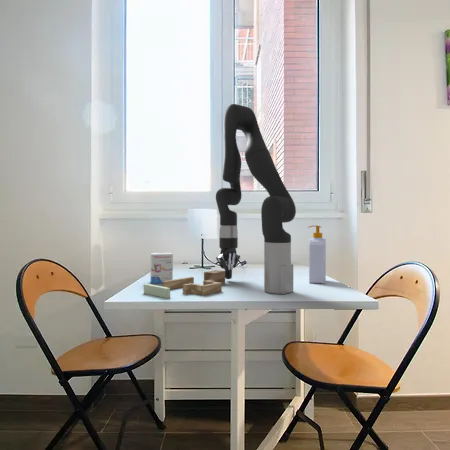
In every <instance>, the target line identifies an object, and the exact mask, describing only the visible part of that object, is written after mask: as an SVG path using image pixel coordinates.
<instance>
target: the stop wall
mask: <svg viewBox="0 0 450 450" xmlns="http://www.w3.org/2000/svg"><path fill="white" fill-rule="evenodd" d="M143 294H146V295H151V296H154V297H155V296H156V297H161V298H163V299H164V298H165V299H169V298H171V289H170V288H167V287H163V285H162V286H161V285H157V284H156V285H155V284H152V283H144V284H143Z"/></svg>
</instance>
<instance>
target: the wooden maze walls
mask: <svg viewBox="0 0 450 450" xmlns="http://www.w3.org/2000/svg"><path fill="white" fill-rule="evenodd" d="M202 282H203V283H202V284H198V283H195V278H194V277H193V276H187V277H182V278H176V279H173V280H168V281H163V283H162V287H167V288H170V290H174V289H181V288H182V295H188V294H195V295H201V296H207V295H212V294H216V292H217V293H219V292H220V293H221V292H222V285H223V284H222V283H220V282H214V280H206V281H204V280H203V281H202Z"/></svg>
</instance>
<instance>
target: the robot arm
mask: <svg viewBox="0 0 450 450" xmlns="http://www.w3.org/2000/svg"><path fill="white" fill-rule="evenodd" d="M225 109H226V110H225V113H224V117H223V118H224V119H223V121H224V122H223V123H224V124H223V128H224V134H223V135H224V160H223V161H224V162H223V168H222V170H223V171H222V180H223V181H224V182H226V183H229V186H230V187H220V188H218V189H217V191H216V193H215V201H216V205H217V210H218V214H219V241H218V242H219V249H220V252H219V253H220V255H219V256H216V259H215V260H216V261H217V263H218V264H219V266H220V269H223V270H224V271H225V280H231V279H232V277H233V270H234V268H236V267H237V265H238V262H239V260H240V259H241V255H240V254H237V249H238V247H239V244H238V243H239V241H238V240H239V238H238V237H239V231H238V214H237V212H236V211H234V210H231V209H230V207H229V206H237V205H238V204H239V203H240V202H241V200H242V197H243V196H242V188H241V187H242V186H241V179H240V178H241V177H240V176H241V172H242V157H241V154H240V153H241V152H240V150H239V147H238V143H237V130H238V131H241V132H242V133H243V135H244V137H245V140H246V142H247V143H246V148H245V152H244V159H245V162H246V166H247V167H248V170H249V172H250V173H251V175H252V176H253V178H254V179H255V180H256V181H257V182H258V184H260V185H261V187H263V188H264V189H265V190H266V192H267V193H268V194H269V195H268V196H267V197H265V199H264V200H263V202H262V205H261V209H260V211H261V212H260V213H261V215H260V216H261V231H262V233H261V234H262V235H263V238H264V240H263V241H264V242H263V243H264V245H263V246H264V248H263V256H264V258H263V259H264V261H263V263H264V265H263V266H264V269H263V270H264V271H263V275H264V277H263V278H264V279H263V283H264V284H263V285H264V286H263V290H264V292H265V293H268V294H277V295H278V294H279V295H280V294H282V295H286V294H289V293H293V292H294V264H293V263H292V236H291V234H290V233H289V232H287V231H286V230H285V229H284V226H283V223H284V224H285V223H290V222H292V221H293V220H294V219H295V218H296V217H295V216H296V211H297V208H296V205H295V202H294V199H293V197H292V196H291V194H290V192H289V190H288V189H287V187H286V186H285V184H284V182H283V179H282V178H281V176H280V173H279V172H278V169H277V167H276V165H275V163H274V160H273V158H272V155H271V153H270V151H269V148H268V147H267V145H266V142H265V140H264V137H263V135H262V133H261V130H260V126H259V123H258V119H257V116H256V114H255V112H254V110H253V109H252V108H250V107H248V106H245V105H240V104H236V103H231V104H229V106H227V108H225Z"/></svg>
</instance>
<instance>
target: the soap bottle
mask: <svg viewBox="0 0 450 450" xmlns="http://www.w3.org/2000/svg"><path fill="white" fill-rule="evenodd" d="M311 227H314V225H310V226H307V228H308V229H309V228H311ZM320 228H322V226H320V225H315V232H313V233H312V238H309V242H308V243H309V245H308V246H309V247H308V249H309V250H308V257H309V258H308V262H309V263H308V265H309V266H308V267H309V268H308V273H309V274H308V281H309V284H320V283H322V284H321V285H326V282H327V281H326V280H327V279H326V275H327V274H326V271H327V270H326V269H327V268H326V267H327V265H326V264H327V263H326V261H327V260H326V259H327V254H326V251H327V245H326V244H327V240H326V238H324V237H323V232H320Z"/></svg>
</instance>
